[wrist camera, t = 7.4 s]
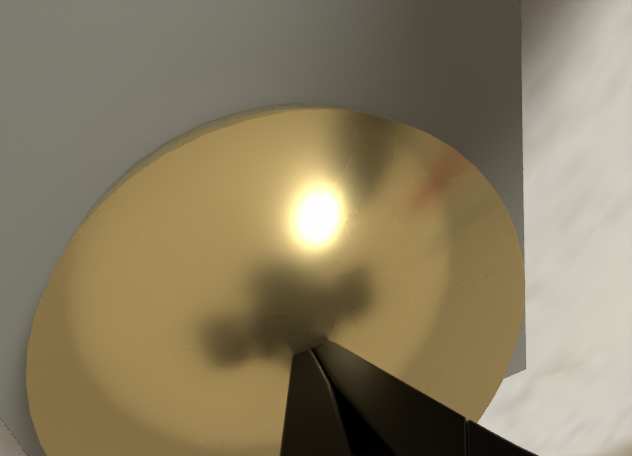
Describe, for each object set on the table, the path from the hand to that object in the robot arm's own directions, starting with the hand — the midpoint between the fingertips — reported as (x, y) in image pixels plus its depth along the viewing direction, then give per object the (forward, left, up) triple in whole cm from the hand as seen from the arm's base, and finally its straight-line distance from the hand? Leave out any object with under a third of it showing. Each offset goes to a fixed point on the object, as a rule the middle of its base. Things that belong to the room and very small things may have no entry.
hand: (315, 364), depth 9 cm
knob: (0, 0, -5) cm, 5 cm away
